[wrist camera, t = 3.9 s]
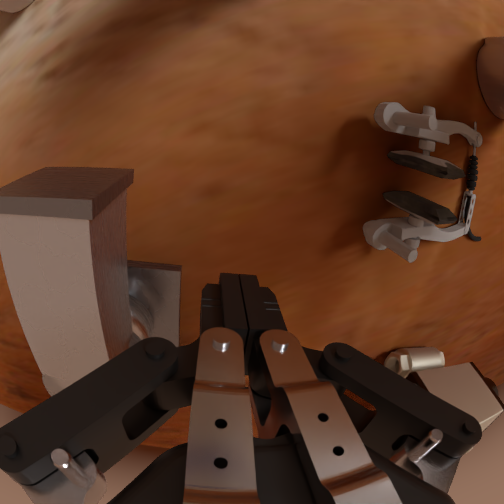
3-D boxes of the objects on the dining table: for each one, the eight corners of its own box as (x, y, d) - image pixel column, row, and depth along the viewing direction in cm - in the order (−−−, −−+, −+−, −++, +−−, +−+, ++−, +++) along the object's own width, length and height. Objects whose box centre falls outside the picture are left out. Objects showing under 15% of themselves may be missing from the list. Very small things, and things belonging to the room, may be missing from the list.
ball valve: (342, 380, 34) (389, 495, 18) (371, 333, 31) (443, 458, 15) (428, 371, 38) (477, 451, 22) (456, 332, 34) (517, 412, 19)
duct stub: (56, 252, 22) (30, 280, 17) (181, 265, 24) (175, 300, 19) (77, 347, 27) (64, 380, 22) (179, 362, 29) (176, 398, 24)
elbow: (154, 386, 23) (147, 444, 17) (75, 373, 22) (57, 424, 16) (148, 170, 15) (113, 201, 10) (35, 167, 14) (-27, 196, 8)
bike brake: (345, 249, 24) (465, 233, 29) (394, 289, 18) (504, 255, 23) (359, 88, 18) (482, 129, 23) (424, 86, 12) (526, 141, 17)
